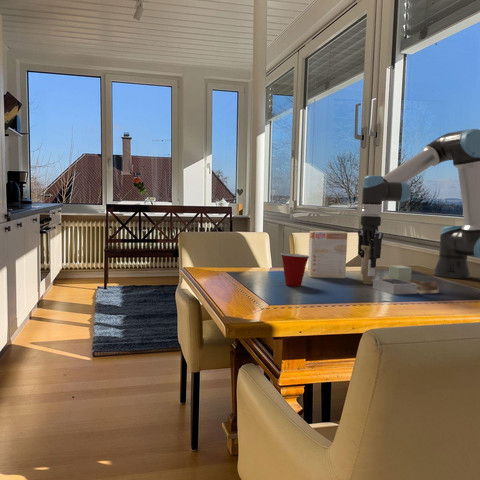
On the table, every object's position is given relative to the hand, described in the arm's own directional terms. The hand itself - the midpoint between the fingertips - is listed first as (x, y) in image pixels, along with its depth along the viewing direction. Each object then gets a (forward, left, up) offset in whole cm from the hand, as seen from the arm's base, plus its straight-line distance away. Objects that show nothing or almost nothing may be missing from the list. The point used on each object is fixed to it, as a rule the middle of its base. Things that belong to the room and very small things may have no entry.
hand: (367, 274), depth 177 cm
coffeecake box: (+8, -18, -4) cm, 20 cm away
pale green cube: (-13, +3, -3) cm, 13 cm away
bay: (-13, +9, -4) cm, 16 cm away
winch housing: (-2, +14, -4) cm, 15 cm away
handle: (0, 0, -4) cm, 4 cm away
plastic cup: (+31, -2, -4) cm, 31 cm away
